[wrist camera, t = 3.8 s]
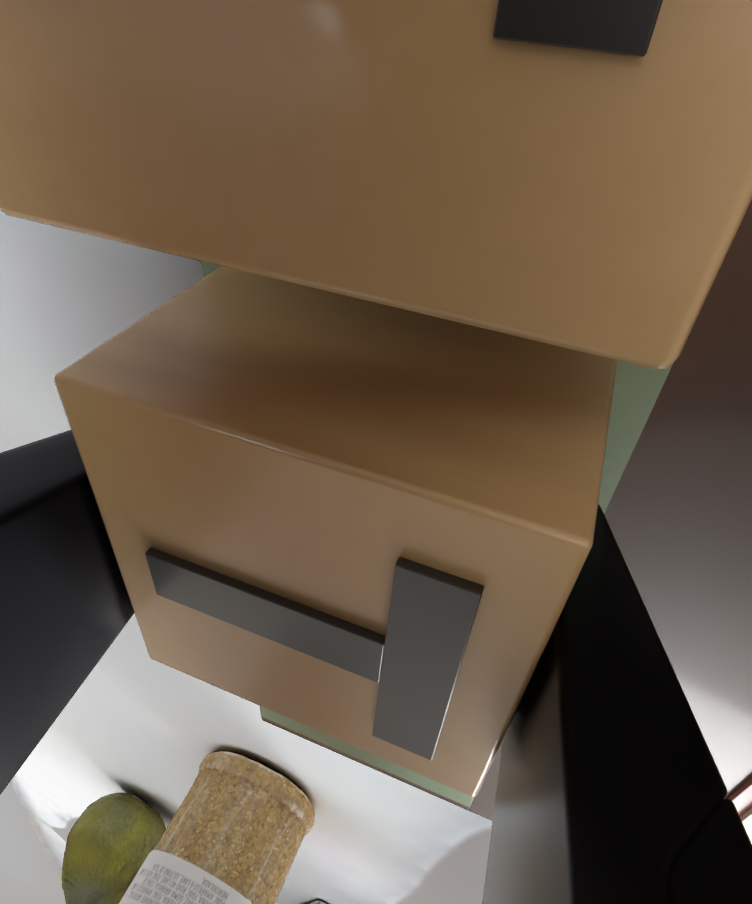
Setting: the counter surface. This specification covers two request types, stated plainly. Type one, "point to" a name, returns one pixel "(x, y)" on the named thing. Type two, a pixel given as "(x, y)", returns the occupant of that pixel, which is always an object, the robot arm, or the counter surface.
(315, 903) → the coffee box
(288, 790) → the sprinkles bottle
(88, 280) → the counter surface
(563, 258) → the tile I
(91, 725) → the counter surface
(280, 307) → the tile
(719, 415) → the letter board
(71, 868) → the lime
